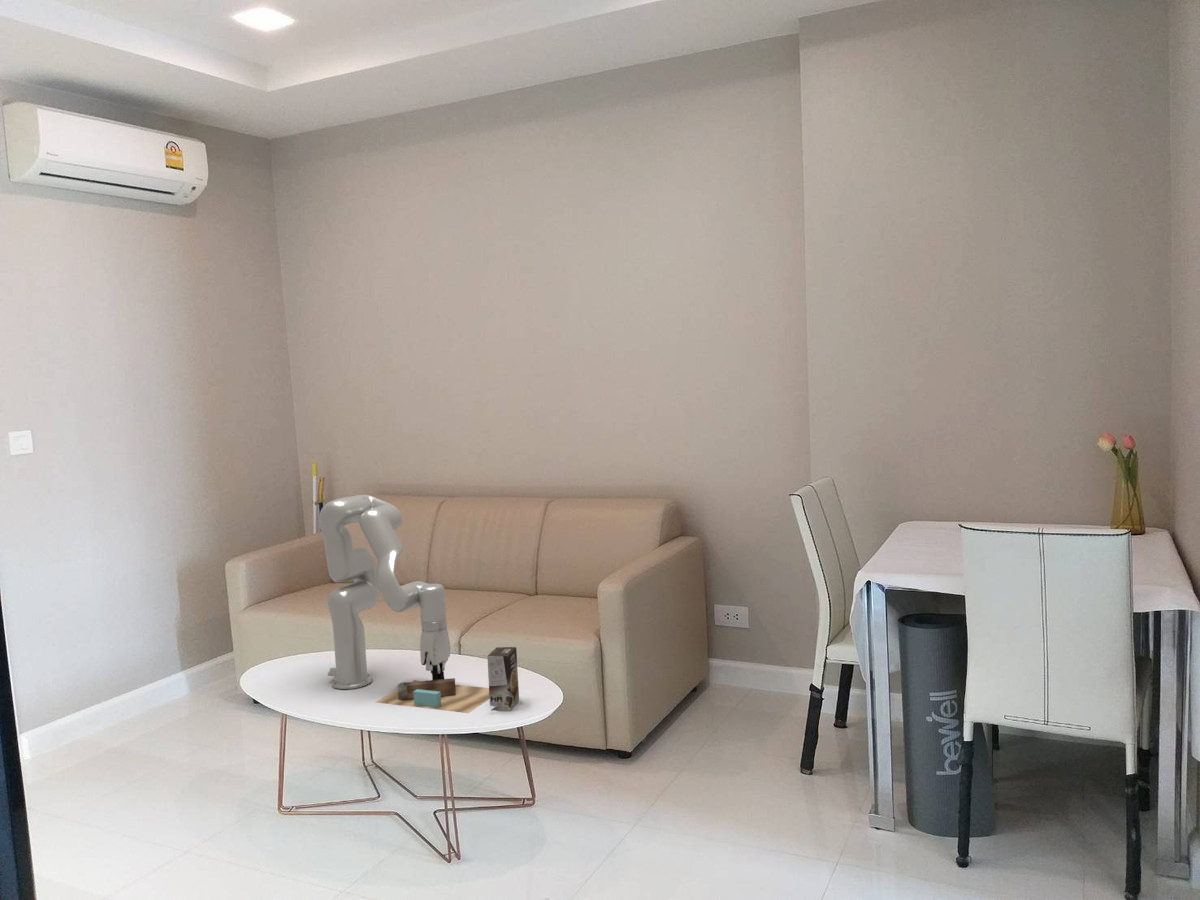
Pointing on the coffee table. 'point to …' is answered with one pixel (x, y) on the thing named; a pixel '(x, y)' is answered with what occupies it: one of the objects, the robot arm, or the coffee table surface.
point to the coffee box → (503, 678)
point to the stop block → (427, 698)
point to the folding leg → (426, 687)
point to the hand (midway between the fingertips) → (438, 684)
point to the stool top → (448, 699)
